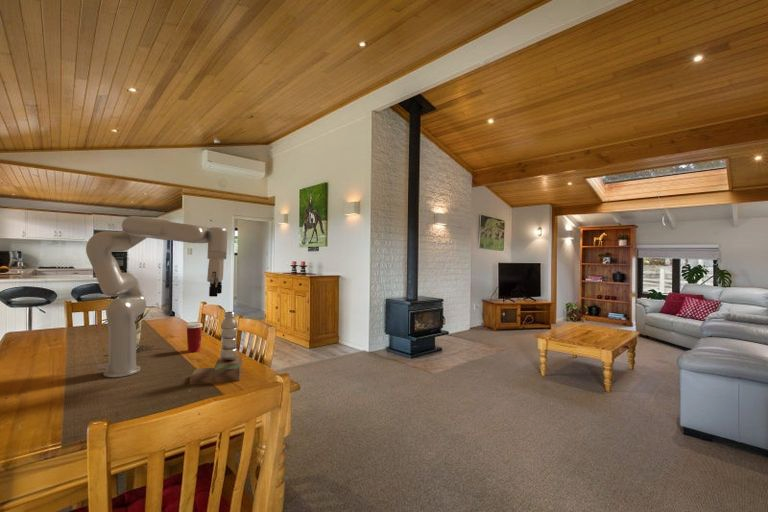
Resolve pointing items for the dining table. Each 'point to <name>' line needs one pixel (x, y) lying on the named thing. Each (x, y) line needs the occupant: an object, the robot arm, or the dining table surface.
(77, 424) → the dining table surface
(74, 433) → the dining table surface
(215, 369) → the step stand
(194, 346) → the paper cup
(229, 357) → the plastic bottle
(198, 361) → the dining table surface
